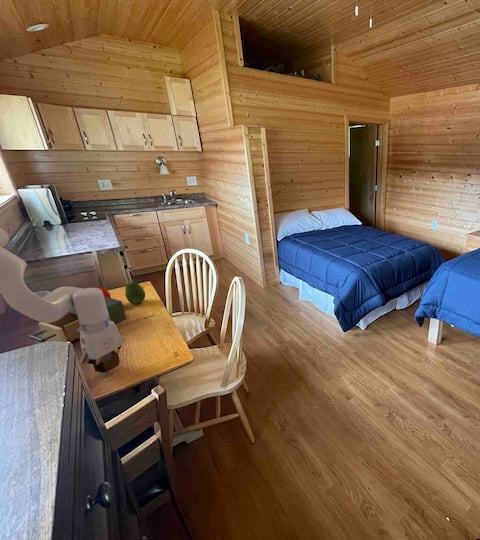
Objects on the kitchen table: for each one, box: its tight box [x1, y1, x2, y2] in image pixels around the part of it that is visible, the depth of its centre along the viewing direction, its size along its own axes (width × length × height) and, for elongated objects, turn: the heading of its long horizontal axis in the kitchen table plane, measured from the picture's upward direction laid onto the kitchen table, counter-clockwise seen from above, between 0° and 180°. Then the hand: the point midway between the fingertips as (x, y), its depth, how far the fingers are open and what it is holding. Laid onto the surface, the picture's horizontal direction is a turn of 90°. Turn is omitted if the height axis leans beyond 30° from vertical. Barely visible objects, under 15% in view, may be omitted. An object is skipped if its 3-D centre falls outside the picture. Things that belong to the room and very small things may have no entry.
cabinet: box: [68, 296, 127, 326], centre depth 132 cm, size 15×13×10 cm
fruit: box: [124, 280, 146, 305], centre depth 150 cm, size 8×8×12 cm
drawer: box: [28, 313, 80, 343], centre depth 121 cm, size 18×11×8 cm, turn 162°
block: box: [100, 352, 120, 374], centre depth 107 cm, size 4×4×4 cm
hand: (108, 366), depth 107 cm, fingers closed on block, 4 cm apart
